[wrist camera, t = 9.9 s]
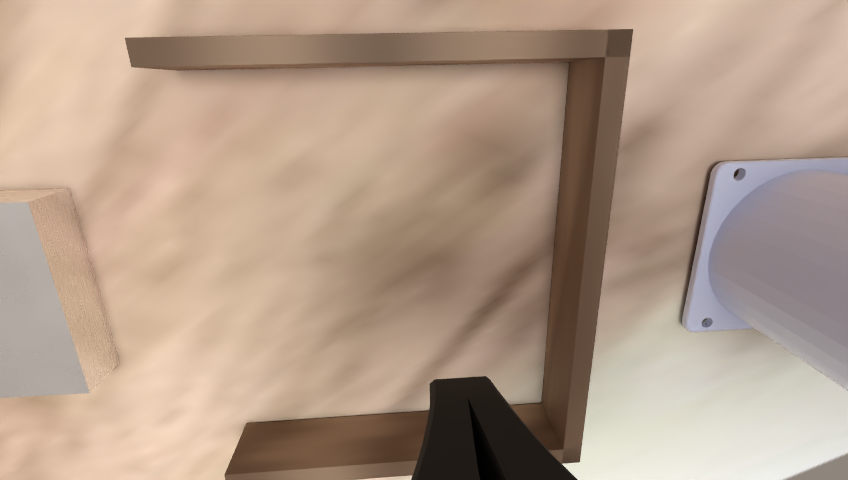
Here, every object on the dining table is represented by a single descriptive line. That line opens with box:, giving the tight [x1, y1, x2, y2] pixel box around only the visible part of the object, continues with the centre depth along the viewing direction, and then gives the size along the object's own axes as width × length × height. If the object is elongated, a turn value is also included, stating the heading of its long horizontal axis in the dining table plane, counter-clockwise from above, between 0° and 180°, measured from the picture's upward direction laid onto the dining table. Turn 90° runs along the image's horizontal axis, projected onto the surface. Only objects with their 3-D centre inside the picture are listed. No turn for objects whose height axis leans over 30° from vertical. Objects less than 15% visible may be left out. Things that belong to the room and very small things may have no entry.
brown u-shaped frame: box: [125, 29, 633, 480], centre depth 18 cm, size 15×18×3 cm
